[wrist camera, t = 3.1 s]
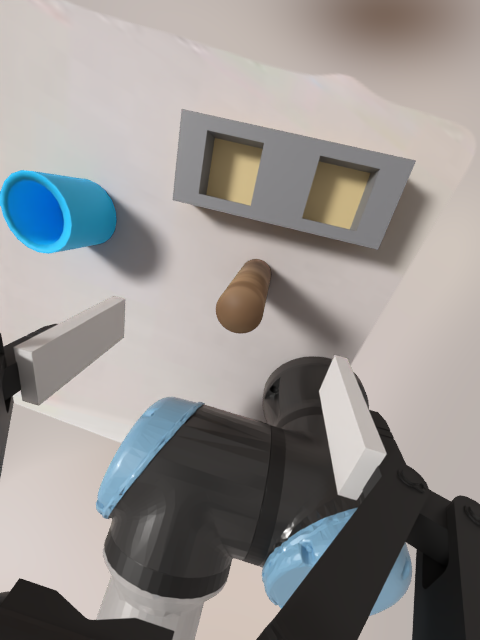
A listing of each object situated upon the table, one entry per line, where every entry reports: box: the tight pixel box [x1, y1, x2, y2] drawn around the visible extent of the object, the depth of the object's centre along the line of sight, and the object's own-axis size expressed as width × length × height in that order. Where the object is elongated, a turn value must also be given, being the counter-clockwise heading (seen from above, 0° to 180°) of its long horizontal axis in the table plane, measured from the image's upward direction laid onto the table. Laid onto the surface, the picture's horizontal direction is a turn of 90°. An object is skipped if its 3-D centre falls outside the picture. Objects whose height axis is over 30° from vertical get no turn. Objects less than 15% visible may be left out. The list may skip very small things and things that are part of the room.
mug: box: [0, 170, 117, 253], centre depth 32 cm, size 12×8×8 cm
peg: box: [216, 259, 271, 333], centre depth 29 cm, size 4×4×14 cm
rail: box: [173, 109, 416, 250], centre depth 28 cm, size 22×8×5 cm, turn 78°
